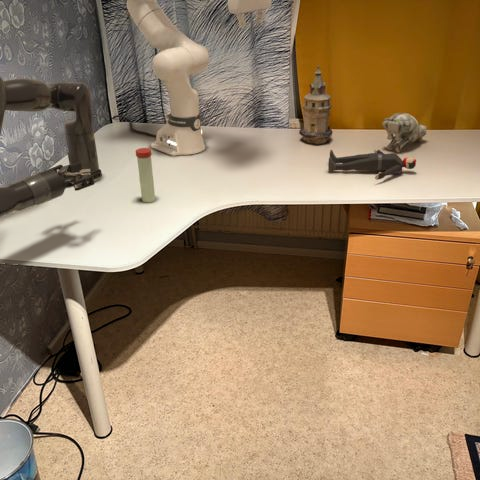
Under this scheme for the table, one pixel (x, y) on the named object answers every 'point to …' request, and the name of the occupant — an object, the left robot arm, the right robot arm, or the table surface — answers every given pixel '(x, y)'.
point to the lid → (143, 152)
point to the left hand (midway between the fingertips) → (90, 169)
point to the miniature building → (316, 112)
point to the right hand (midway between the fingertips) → (250, 25)
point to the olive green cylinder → (146, 179)
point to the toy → (371, 163)
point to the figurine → (403, 130)
